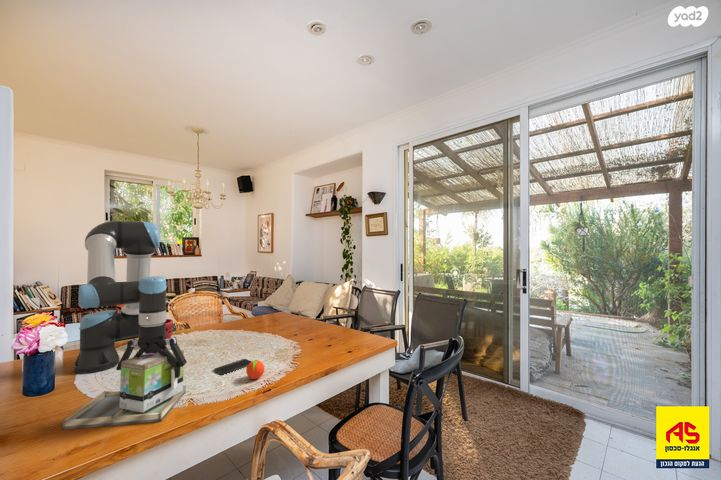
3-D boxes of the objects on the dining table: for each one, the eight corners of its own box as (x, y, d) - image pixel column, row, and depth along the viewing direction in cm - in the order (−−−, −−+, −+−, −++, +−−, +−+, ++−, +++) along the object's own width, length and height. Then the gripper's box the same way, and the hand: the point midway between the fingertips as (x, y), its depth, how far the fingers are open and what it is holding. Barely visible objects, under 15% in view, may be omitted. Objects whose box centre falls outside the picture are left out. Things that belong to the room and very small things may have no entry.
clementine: (262, 382, 120) (262, 364, 120) (244, 384, 119) (244, 365, 119) (265, 374, 128) (265, 356, 128) (248, 375, 127) (248, 357, 127)
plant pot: (157, 339, 172) (157, 318, 173) (178, 341, 171) (178, 319, 171) (137, 347, 160) (137, 324, 160) (160, 349, 158) (160, 325, 158)
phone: (212, 369, 131) (244, 358, 143) (212, 371, 131) (244, 360, 143) (222, 373, 126) (254, 362, 138) (222, 376, 126) (254, 364, 138)
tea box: (143, 413, 94) (144, 364, 94) (118, 409, 97) (119, 361, 97) (184, 391, 109) (184, 348, 109) (161, 387, 111) (161, 345, 111)
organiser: (61, 429, 90) (61, 421, 90) (104, 397, 108) (104, 391, 108) (161, 421, 94) (161, 413, 94) (185, 392, 113) (185, 385, 113)
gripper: (102, 328, 97) (102, 397, 97) (188, 325, 101) (188, 391, 101) (117, 322, 104) (117, 386, 104) (197, 319, 108) (196, 381, 108)
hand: (152, 389), depth 102 cm, fingers open, 13 cm apart
